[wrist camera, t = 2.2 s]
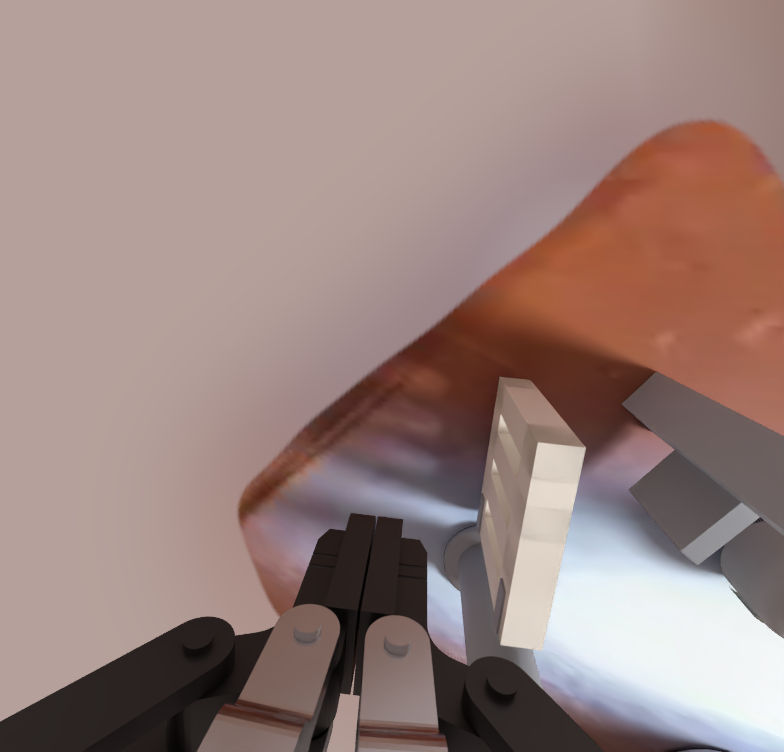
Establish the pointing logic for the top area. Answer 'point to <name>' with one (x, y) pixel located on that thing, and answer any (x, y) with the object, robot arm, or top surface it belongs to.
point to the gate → (526, 509)
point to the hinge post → (480, 603)
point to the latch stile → (706, 468)
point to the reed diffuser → (758, 572)
